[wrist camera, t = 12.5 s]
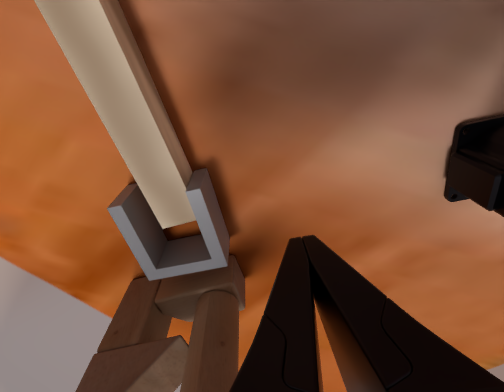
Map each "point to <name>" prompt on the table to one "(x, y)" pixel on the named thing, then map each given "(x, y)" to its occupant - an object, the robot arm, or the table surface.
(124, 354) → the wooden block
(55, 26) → the slat
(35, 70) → the table surface
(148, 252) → the endcap
